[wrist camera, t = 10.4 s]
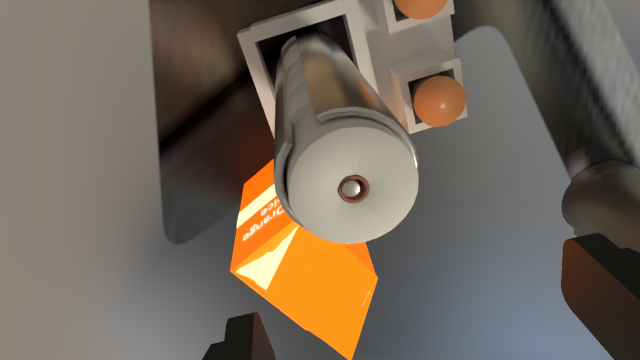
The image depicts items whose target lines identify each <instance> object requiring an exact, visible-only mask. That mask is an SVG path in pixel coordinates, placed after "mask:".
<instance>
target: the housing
mask: <svg viewBox="0 0 640 360" xmlns="http://www.w3.org/2000/svg"><path fill="white" fill-rule="evenodd" d="M451 14H455V12H454V4H453V0H448V1H447V3H446V5H445V6H444V7H443V9H442V10H441V11H440V12H439V13H437V14H436V15H434V16H432V17H430V18H427V19H413V18H411V17H408V16H406V15H404V14H403V13H402V12H401V11H400V10H399V9H398V8H397V6H396V5H395V4H393V2H392V0H325V1H322V2H319V3H316V4H312V5H309V6H306V7H303V8H300V9H297V10H293V11H290V12H287V13H284V14H281V15H278V16H274V17H271V18H268V19H265V20H262V21H259V22H256V23H252V24H251V26H250V27H248V28H244V29H241V30H239V32H238V33H237V37H238V40H239V42H240V45H241V48H242V51H243V54H244V56H245V59H246V62H247V65H248V67H249V70H250V73H251V76H252V79H253V81H254V84H255V87H256V90H257V92H258V95H259V98H260V101H261V104H262V106H263V109H264V112H265V115H266V117H267V120H268V123H269V126H270V129H271V131H272V134H273V137H274V134H275V98H276V94H275V91H274V88H273V85H272V82H271V79H270V76H269V73H268V70H267V67H266V65H265V62H264V59H263V56H262V53H261V50H260V47H259V44H258V41H260V40H263V39H266V38H270V37H273V36H276V35H279V34H282V33H286V32H289V31H292V30H295V29H298V28H301V27H305V26H308V25H311V24H314V23H317V22H321V21H324V20H327V19H330V18H333V17H337V16H340V15H342V16H343V21H344V25H345V29H346V33H347V37H348V41H349V45H350V49H351V53H352V57H353V62H354V65H355V66H356V68H357V69H358V70H359V71H360V73H361V74H362V75H363V76H364V78H365V79H366V80H367V81H368V83H369V84H370V85H371V87H372V88H373V89H374V90H375V92H376V93H377V94H378V95H379V97H380V98H381V99H382V100H383V102H384V103H385V104H386V105H387V107H388V108H389V109H390V110H391V112H392V113H393V114H394V116H395V117H396V118H397V119H398V121H399V122H400V123H401V124H402V125H403V126H404V128H405V129H406V130H407V131H408V133H409V134H411V133H414V132H417V131H421V130H425V129H428V128H431V127H432V126H429V125H427V124H425V123H424V122H423V121H422V120H421V119H420V118H419V117H418V116H417V114H416V112H415V109H414V104H413V103H412V102H411V97H410V92H409V86H408V82H409V81H412V80H416V79H419V78H422V77H426V76H429V75H432V74H435V75H437V76H448V77H451V78H453V79H454V80H456V81H457V82H459V83H460V84H461V85H462V87H463V88H464V82H463V74H462V67H461V59H460V57H458V56H456V55H455V47H454V40H453V32H452V25H451V17H450V15H451ZM464 91H465V90H464ZM465 117H468V113H467V106H466V103H465V107H464V110H463V112H462V113H461V115H460V116H459V117H458V118H457V119H456V120H458V119H461V118H465Z"/></svg>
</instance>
